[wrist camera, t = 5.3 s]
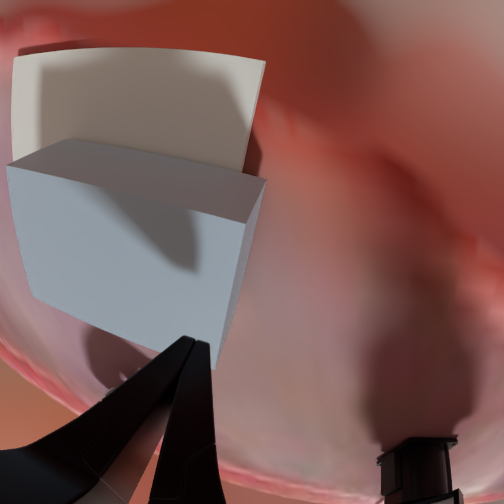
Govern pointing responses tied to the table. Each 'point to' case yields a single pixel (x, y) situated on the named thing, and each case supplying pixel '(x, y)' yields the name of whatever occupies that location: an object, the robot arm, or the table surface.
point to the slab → (135, 239)
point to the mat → (137, 102)
